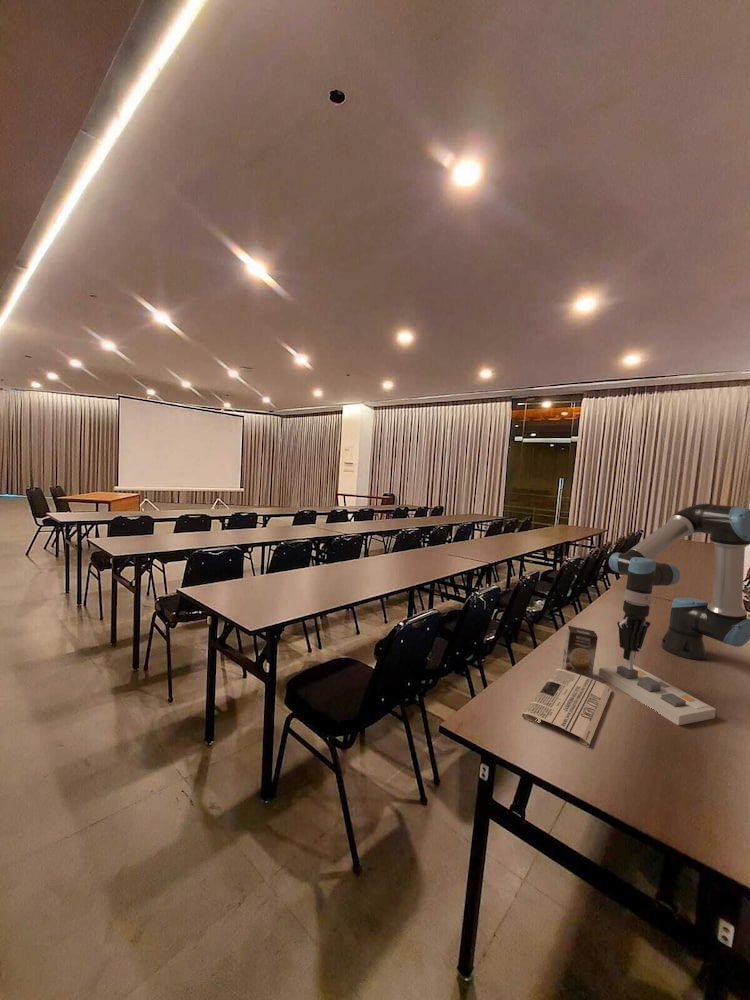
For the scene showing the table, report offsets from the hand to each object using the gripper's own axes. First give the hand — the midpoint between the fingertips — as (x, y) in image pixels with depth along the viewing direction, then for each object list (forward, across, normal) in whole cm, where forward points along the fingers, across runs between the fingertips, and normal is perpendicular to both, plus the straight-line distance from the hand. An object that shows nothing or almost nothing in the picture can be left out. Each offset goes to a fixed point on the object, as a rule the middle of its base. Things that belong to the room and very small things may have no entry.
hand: (627, 667), depth 141 cm
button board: (+6, +2, -8) cm, 10 cm away
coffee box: (+6, -13, +9) cm, 17 cm away
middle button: (+4, 0, -8) cm, 9 cm away
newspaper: (+7, -30, -7) cm, 32 cm away
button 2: (+5, 0, -16) cm, 17 cm away
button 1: (+4, 0, 0) cm, 4 cm away
